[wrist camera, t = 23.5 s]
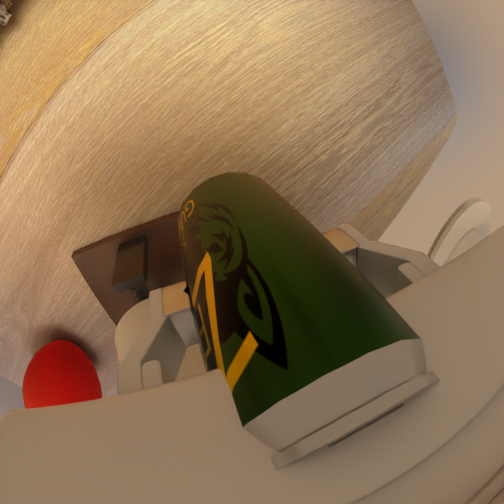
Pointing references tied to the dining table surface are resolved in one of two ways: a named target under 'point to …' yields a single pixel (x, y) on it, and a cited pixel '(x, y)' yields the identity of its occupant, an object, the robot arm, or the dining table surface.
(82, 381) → the tomato
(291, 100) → the dining table surface
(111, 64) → the dining table surface
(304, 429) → the beer can
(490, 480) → the robot arm
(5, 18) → the flower
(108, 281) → the holder base
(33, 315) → the dining table surface
